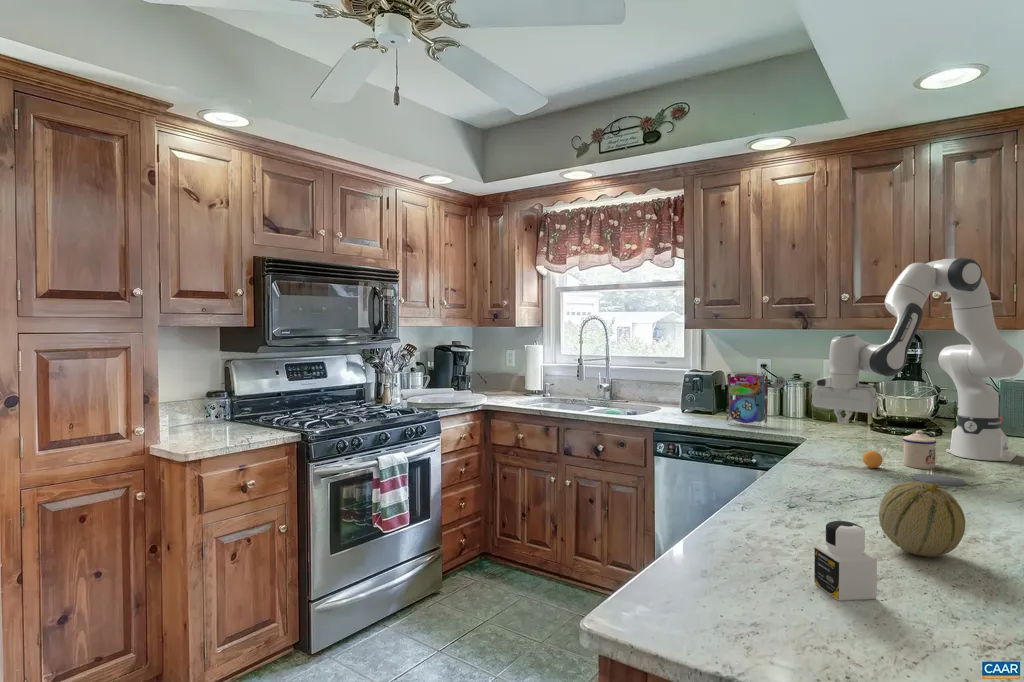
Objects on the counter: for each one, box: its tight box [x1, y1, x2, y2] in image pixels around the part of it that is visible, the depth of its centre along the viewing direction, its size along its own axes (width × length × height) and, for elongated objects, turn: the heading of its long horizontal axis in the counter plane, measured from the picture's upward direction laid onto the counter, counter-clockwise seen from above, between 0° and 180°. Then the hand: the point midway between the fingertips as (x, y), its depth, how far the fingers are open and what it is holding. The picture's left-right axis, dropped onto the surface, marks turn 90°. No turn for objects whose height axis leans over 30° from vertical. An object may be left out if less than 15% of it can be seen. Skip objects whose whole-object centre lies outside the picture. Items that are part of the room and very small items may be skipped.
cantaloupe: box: [878, 480, 967, 558], centre depth 123 cm, size 15×15×15 cm
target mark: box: [912, 473, 967, 487], centre depth 179 cm, size 13×13×1 cm
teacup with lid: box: [902, 429, 937, 470], centre depth 198 cm, size 12×9×12 cm
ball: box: [862, 450, 883, 469], centre depth 195 cm, size 6×6×6 cm
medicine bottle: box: [813, 520, 878, 602], centre depth 106 cm, size 7×7×12 cm
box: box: [725, 371, 786, 429], centre depth 272 cm, size 25×6×24 cm, turn 50°
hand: (843, 423), depth 203 cm, fingers closed
